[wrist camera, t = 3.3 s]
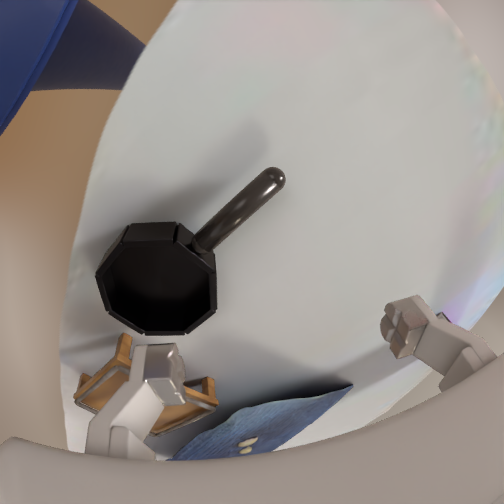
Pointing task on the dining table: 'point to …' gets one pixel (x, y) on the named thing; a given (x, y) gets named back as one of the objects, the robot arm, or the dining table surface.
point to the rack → (118, 372)
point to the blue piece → (258, 428)
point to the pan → (174, 265)
